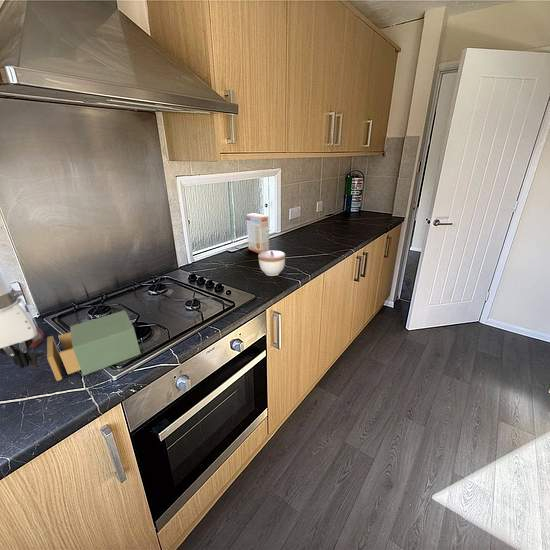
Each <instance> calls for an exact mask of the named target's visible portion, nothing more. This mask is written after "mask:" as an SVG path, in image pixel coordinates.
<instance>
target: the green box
mask: <svg viewBox="0 0 550 550" xmlns="http://www.w3.org/2000/svg"><path fill="white" fill-rule="evenodd" d="M69 329H70V331H69V332H71V338H72V346H73V350H74V353H75V355H76V358H77V361H78V363H79V366H80V369H81V370H80V372H81V374H82V376H83V377H84V376H86V375H89V374H92V373H94V372H97V371H101V370H103V369H105V368H107V367H108V368H109V367H111V366H113V365H116V364H118V363H122V362H124V361H126V360H129V359H131V358H134V357H137V356H140V355H141V354H142V353H141V350H140V349H141V348H140V345H139V341H138V338H137V334H136V329H135V327H134V325H133V323H132V321H131V319H130V317H129V315H128V312H127V311H126V310H121V311H117V312H114V313H110V314H107V315H104V316H100V317H97V318H94V319H91V320H87V321H84V322H80V323H77V324H73V325H70V326H69Z"/></svg>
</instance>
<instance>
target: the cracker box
mask: <svg viewBox="0 0 550 550" xmlns="http://www.w3.org/2000/svg"><path fill="white" fill-rule="evenodd" d="M245 215H246V217H245V218H246V234H247V248H248V249H247V250H249V251H252V252H254V253H256V254H258V255H259V254H260V253H261V252H264V251H270V230H269V216H267V215H263V214H259V213H255V212H251V213H247V214H245Z"/></svg>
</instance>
